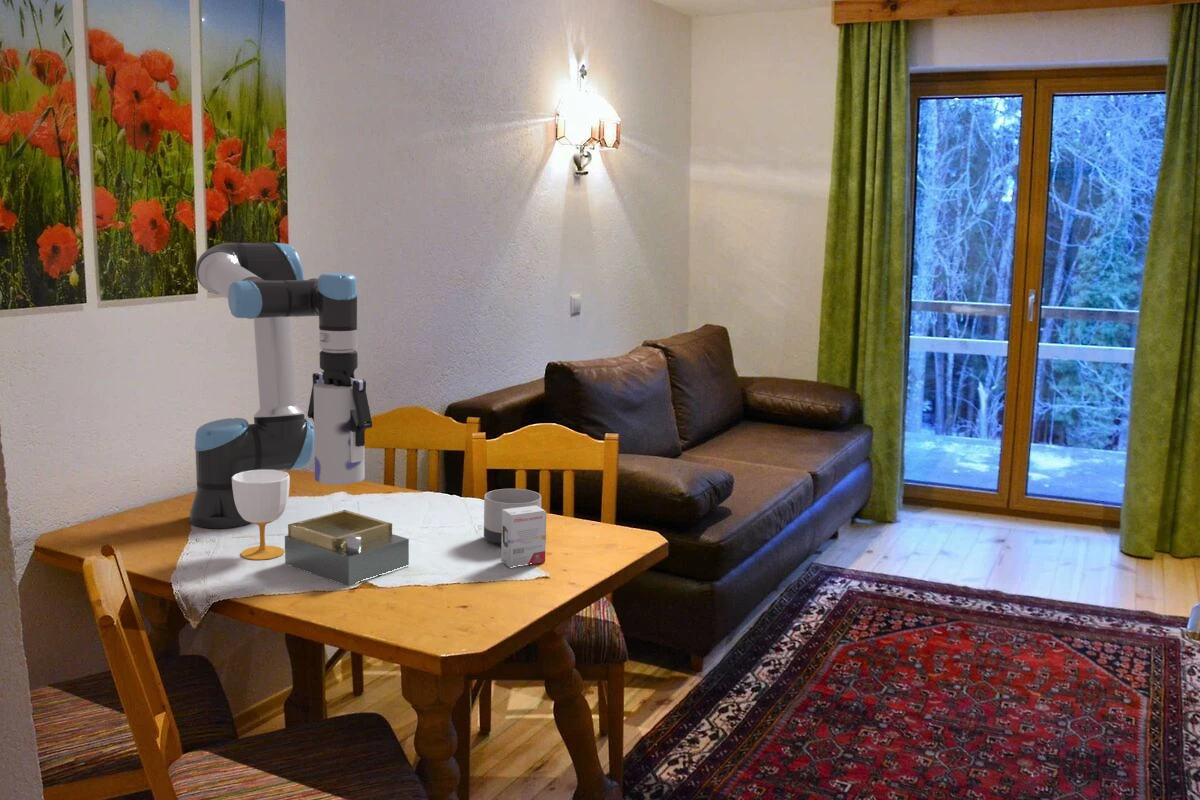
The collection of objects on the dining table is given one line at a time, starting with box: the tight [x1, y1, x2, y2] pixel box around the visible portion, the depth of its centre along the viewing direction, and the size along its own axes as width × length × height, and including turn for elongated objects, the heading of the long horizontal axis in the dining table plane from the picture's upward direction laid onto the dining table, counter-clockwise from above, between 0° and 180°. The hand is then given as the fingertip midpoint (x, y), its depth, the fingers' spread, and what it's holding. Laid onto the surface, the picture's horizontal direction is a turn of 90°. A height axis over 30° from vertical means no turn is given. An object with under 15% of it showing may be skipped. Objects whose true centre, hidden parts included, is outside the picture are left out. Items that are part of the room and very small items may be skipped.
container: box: [312, 382, 366, 486], centre depth 225 cm, size 10×10×20 cm
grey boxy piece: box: [284, 509, 410, 587], centre depth 228 cm, size 20×16×9 cm
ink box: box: [500, 505, 547, 568], centre depth 233 cm, size 9×5×12 cm, turn 119°
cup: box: [232, 470, 291, 561], centre depth 233 cm, size 12×12×17 cm
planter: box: [483, 488, 542, 546], centre depth 248 cm, size 13×13×10 cm
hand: (339, 457), depth 226 cm, fingers closed on container, 10 cm apart
